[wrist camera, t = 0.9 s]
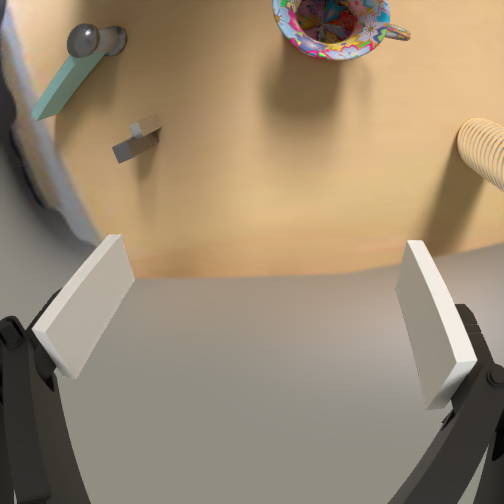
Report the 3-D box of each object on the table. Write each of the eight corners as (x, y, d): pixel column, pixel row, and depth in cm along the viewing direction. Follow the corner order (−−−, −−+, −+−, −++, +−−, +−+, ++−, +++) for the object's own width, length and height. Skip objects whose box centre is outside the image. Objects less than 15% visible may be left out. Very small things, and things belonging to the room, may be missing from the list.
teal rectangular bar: (112, 25, 29) (88, 23, 24) (125, 39, 30) (102, 38, 25) (51, 103, 35) (27, 110, 30) (61, 116, 36) (38, 125, 31)
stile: (136, 123, 36) (107, 135, 30) (156, 114, 35) (129, 125, 29) (145, 146, 38) (119, 163, 32) (165, 138, 37) (141, 154, 31)
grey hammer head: (96, 36, 30) (63, 35, 24) (121, 21, 29) (89, 17, 23) (105, 61, 32) (72, 64, 26) (130, 46, 31) (99, 46, 25)
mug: (273, 53, 30) (263, 47, 21) (287, -19, 25) (282, -51, 16) (379, 79, 30) (409, 84, 21) (393, 8, 25) (427, -11, 16)
